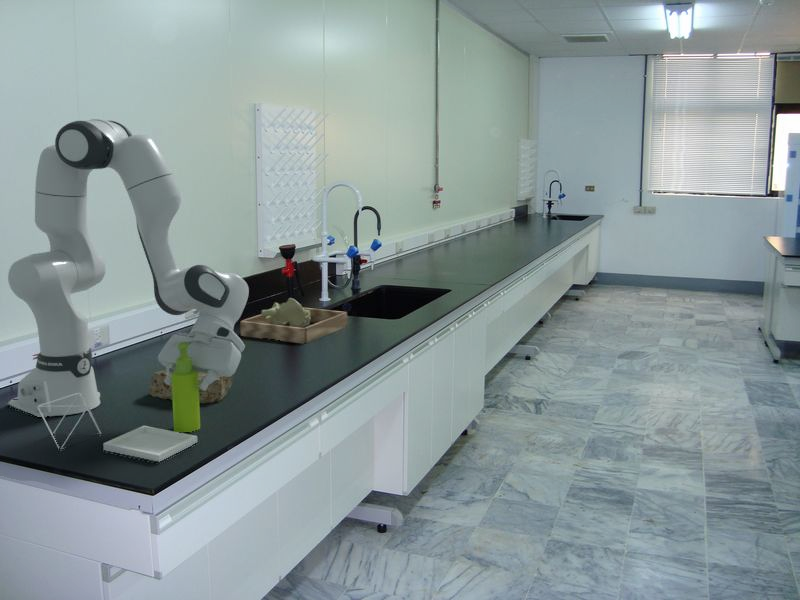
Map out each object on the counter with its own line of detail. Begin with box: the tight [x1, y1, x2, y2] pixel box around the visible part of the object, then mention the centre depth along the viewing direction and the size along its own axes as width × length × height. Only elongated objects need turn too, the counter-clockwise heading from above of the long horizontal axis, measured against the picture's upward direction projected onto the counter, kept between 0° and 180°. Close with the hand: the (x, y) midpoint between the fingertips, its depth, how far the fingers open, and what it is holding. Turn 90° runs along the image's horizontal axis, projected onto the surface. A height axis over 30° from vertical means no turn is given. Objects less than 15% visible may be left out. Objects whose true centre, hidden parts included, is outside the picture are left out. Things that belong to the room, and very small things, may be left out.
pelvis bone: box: [261, 297, 311, 328], centre depth 273 cm, size 20×14×15 cm
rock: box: [148, 369, 234, 404], centre depth 200 cm, size 21×14×10 cm
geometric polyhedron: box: [37, 393, 102, 450], centre depth 168 cm, size 12×11×9 cm
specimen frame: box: [240, 306, 348, 345], centre depth 272 cm, size 26×30×5 cm
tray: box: [103, 425, 198, 462], centre depth 164 cm, size 15×12×2 cm
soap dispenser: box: [171, 342, 201, 433], centre depth 174 cm, size 6×7×20 cm
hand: (184, 386), depth 174 cm, fingers open, 8 cm apart
